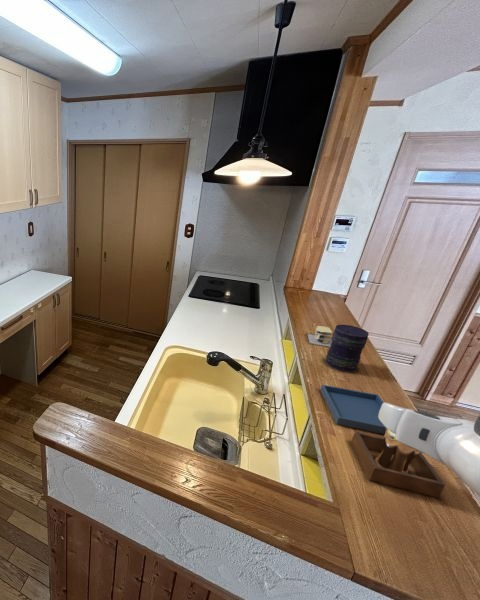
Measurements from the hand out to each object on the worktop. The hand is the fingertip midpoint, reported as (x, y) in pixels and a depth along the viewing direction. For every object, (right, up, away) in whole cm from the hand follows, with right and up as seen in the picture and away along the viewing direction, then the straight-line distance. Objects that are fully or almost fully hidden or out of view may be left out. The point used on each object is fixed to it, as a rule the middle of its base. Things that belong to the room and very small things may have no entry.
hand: (435, 422), depth 67 cm
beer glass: (+3, -17, +13) cm, 22 cm away
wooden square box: (+3, -16, +13) cm, 21 cm away
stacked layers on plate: (+32, +7, +76) cm, 83 cm away
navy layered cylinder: (+26, 0, +57) cm, 63 cm away
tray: (+11, -9, +32) cm, 36 cm away
